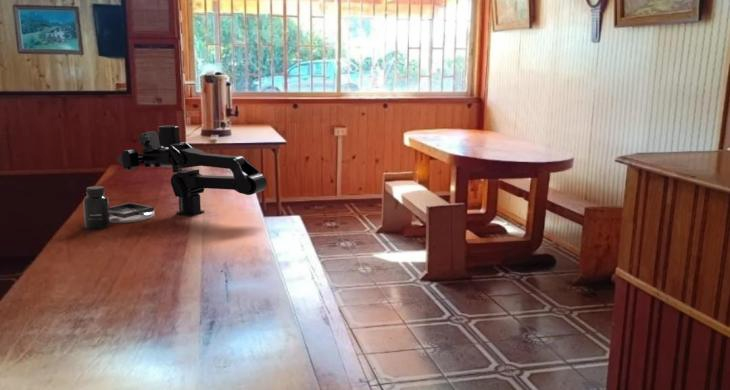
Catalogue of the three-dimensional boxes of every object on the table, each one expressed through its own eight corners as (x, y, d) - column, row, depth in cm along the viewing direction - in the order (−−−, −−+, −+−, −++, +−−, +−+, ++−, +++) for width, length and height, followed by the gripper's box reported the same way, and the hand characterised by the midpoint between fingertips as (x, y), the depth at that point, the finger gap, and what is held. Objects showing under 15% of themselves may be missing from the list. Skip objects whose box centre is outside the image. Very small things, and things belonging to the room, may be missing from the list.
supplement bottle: (93, 231, 180) (89, 191, 177) (80, 227, 184) (77, 187, 181) (115, 226, 185) (112, 187, 183) (102, 222, 189) (99, 184, 187)
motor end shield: (165, 214, 200) (164, 206, 199) (123, 225, 186) (122, 217, 186) (131, 208, 208) (131, 200, 207) (89, 218, 194) (88, 209, 194)
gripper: (181, 130, 209) (146, 131, 216) (139, 134, 193) (103, 135, 199) (184, 163, 211) (149, 163, 217) (143, 170, 194) (106, 169, 201)
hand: (128, 157), depth 209 cm, fingers open, 9 cm apart
